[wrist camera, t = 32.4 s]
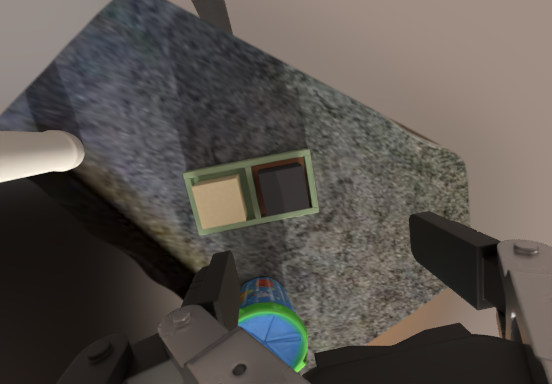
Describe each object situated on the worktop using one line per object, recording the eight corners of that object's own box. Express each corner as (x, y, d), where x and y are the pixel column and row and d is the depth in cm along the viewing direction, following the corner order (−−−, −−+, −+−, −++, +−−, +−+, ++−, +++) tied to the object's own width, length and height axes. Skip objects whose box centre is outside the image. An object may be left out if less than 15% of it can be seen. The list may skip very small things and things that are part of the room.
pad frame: (186, 170, 36) (182, 173, 34) (306, 147, 37) (309, 148, 34) (202, 230, 38) (199, 235, 36) (315, 207, 39) (319, 212, 36)
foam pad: (198, 181, 36) (191, 186, 32) (238, 173, 36) (236, 178, 32) (208, 219, 37) (202, 229, 33) (247, 211, 37) (246, 220, 33)
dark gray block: (257, 169, 36) (257, 174, 32) (298, 161, 36) (302, 165, 32) (265, 208, 37) (266, 217, 33) (304, 200, 37) (309, 208, 33)
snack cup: (318, 310, 42) (337, 365, 32) (266, 347, 43) (269, 411, 33) (258, 240, 39) (258, 276, 29) (203, 281, 40) (185, 330, 30)
